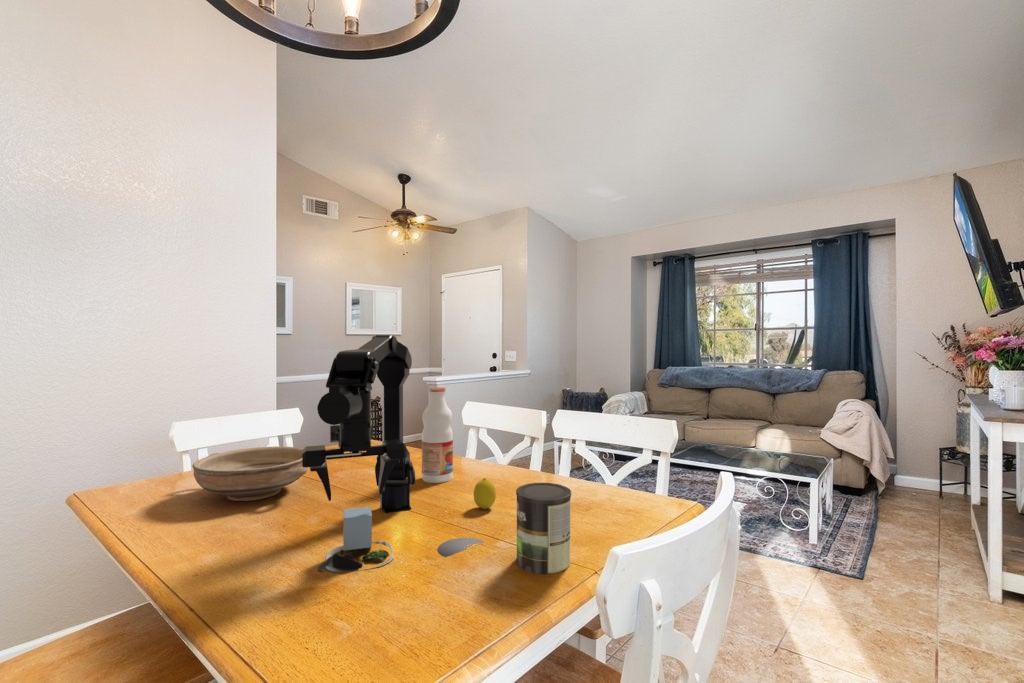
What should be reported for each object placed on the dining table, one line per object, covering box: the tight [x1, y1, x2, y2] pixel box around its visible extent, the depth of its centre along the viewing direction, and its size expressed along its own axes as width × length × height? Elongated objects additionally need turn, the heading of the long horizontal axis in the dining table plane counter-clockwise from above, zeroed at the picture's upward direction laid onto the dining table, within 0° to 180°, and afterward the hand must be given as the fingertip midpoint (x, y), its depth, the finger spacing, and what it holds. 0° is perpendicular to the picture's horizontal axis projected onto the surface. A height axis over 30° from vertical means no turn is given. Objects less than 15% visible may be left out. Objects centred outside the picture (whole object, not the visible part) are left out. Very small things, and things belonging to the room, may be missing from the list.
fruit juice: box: [421, 386, 454, 484], centre depth 145 cm, size 9×9×28 cm
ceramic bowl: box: [192, 446, 309, 502], centre depth 132 cm, size 37×29×10 cm
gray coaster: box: [437, 537, 485, 558], centre depth 95 cm, size 10×10×1 cm
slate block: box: [342, 506, 373, 551], centre depth 92 cm, size 5×5×6 cm
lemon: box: [473, 477, 497, 510], centre depth 118 cm, size 6×6×8 cm
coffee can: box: [515, 482, 572, 575], centre depth 89 cm, size 10×10×14 cm
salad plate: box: [317, 540, 395, 574], centre depth 92 cm, size 15×14×4 cm
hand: (355, 497), depth 92 cm, fingers open, 9 cm apart
